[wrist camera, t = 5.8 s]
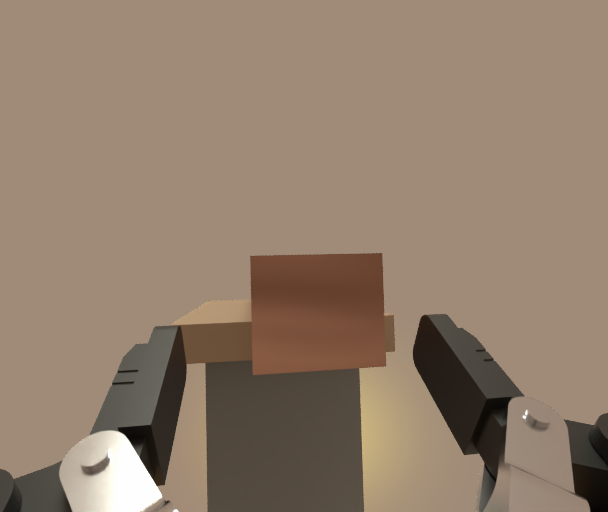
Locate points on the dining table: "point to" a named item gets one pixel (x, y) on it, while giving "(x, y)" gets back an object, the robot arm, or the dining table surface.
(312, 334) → the batten
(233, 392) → the stand
